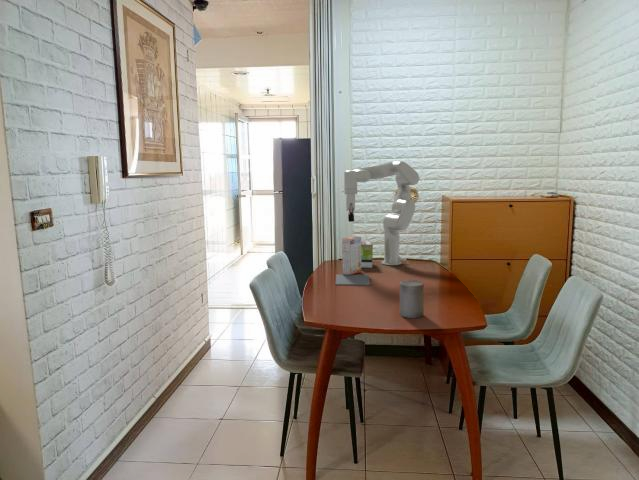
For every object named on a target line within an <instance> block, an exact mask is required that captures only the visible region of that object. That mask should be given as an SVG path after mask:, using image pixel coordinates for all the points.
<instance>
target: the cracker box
mask: <svg viewBox="0 0 639 480" xmlns="http://www.w3.org/2000/svg"><path fill="white" fill-rule="evenodd" d="M361 241H362V236H354V235H353V236H350V237H343V238H341V253H342V254H341V255H342V256H341V260H342V263H341V264H342V265H341V266H342V268H341V269H342V274H343V275H353V274H358V273H361V272H362V268H361Z"/></svg>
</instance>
